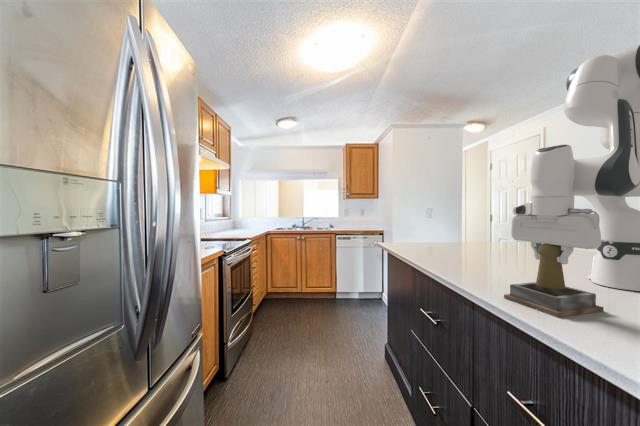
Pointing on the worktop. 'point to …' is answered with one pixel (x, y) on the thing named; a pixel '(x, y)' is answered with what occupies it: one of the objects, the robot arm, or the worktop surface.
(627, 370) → the worktop surface
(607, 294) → the worktop surface
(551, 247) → the cork
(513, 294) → the grey-rimmed square tray
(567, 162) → the robot arm
